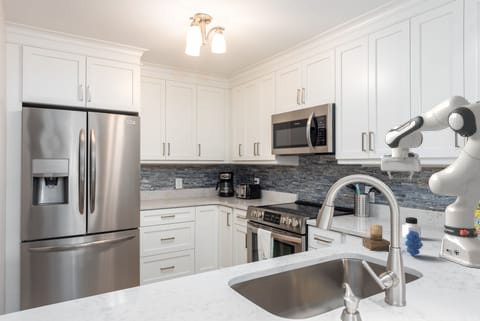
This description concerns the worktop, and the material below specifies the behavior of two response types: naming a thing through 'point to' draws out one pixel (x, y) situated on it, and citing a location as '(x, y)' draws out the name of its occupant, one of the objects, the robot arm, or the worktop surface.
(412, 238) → the grapes
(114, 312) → the worktop surface
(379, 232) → the tan tall piece
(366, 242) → the brown wooden tray
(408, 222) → the medicine bottle
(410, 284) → the worktop surface
